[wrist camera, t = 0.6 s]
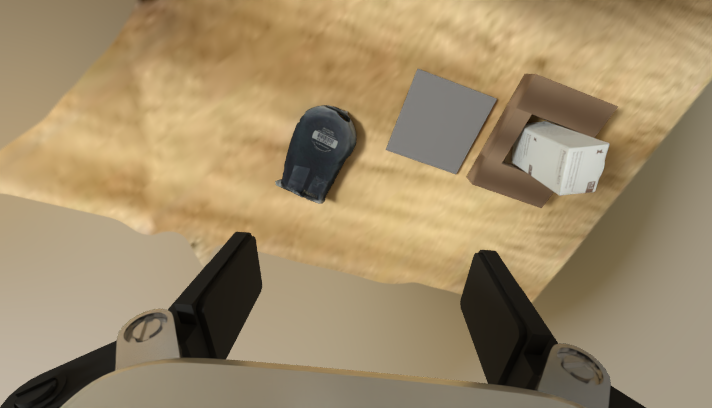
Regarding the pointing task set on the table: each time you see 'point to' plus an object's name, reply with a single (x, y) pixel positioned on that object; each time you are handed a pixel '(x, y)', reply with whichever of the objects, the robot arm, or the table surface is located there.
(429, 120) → the grey rubber mat
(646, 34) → the table surface
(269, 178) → the table surface
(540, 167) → the skincare box
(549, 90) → the walnut socket block
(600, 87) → the table surface
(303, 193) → the electronic device
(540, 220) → the table surface
